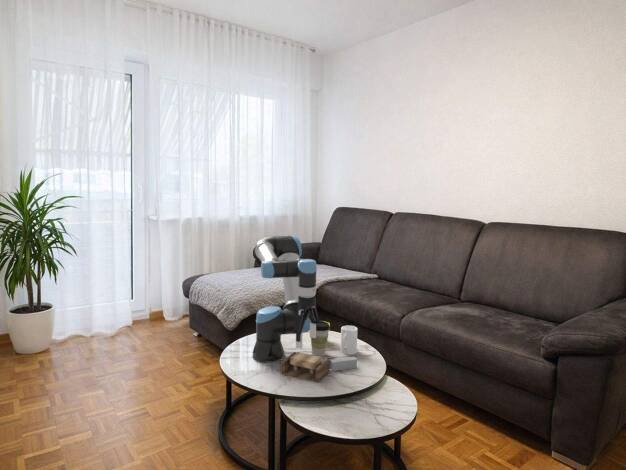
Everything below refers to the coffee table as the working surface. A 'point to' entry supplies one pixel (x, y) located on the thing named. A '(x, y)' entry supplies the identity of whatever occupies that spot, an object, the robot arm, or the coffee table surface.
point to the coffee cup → (320, 338)
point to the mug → (348, 340)
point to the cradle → (305, 370)
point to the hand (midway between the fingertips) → (306, 342)
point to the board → (306, 360)
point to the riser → (343, 363)
